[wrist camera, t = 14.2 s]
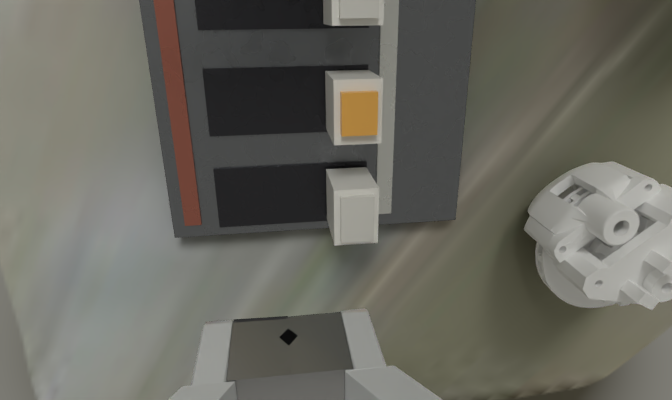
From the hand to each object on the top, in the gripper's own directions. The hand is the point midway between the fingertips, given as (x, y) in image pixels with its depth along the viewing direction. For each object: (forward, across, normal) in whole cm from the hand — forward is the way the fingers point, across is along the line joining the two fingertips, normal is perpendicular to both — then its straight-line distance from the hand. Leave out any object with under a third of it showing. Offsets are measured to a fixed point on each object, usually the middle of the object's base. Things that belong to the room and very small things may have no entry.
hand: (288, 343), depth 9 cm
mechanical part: (+28, -25, +11) cm, 39 cm away
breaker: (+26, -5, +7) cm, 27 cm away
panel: (+28, -3, 0) cm, 28 cm away
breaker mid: (+26, -5, 0) cm, 26 cm away
